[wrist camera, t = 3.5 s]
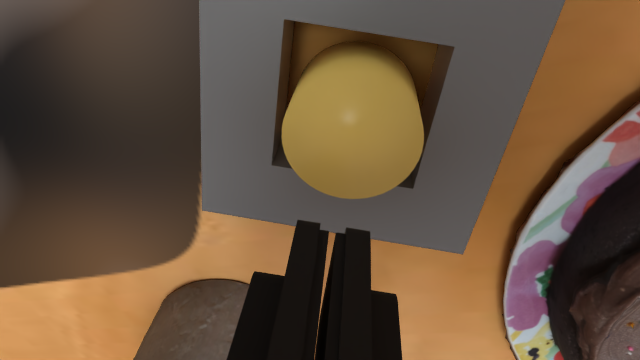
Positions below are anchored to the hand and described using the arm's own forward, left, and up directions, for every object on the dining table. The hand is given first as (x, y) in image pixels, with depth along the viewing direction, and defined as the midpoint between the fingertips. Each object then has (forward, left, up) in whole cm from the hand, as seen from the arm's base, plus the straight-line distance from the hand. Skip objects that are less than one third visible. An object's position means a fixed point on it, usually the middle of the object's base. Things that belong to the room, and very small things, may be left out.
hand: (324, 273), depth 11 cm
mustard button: (0, 0, -9) cm, 9 cm away
